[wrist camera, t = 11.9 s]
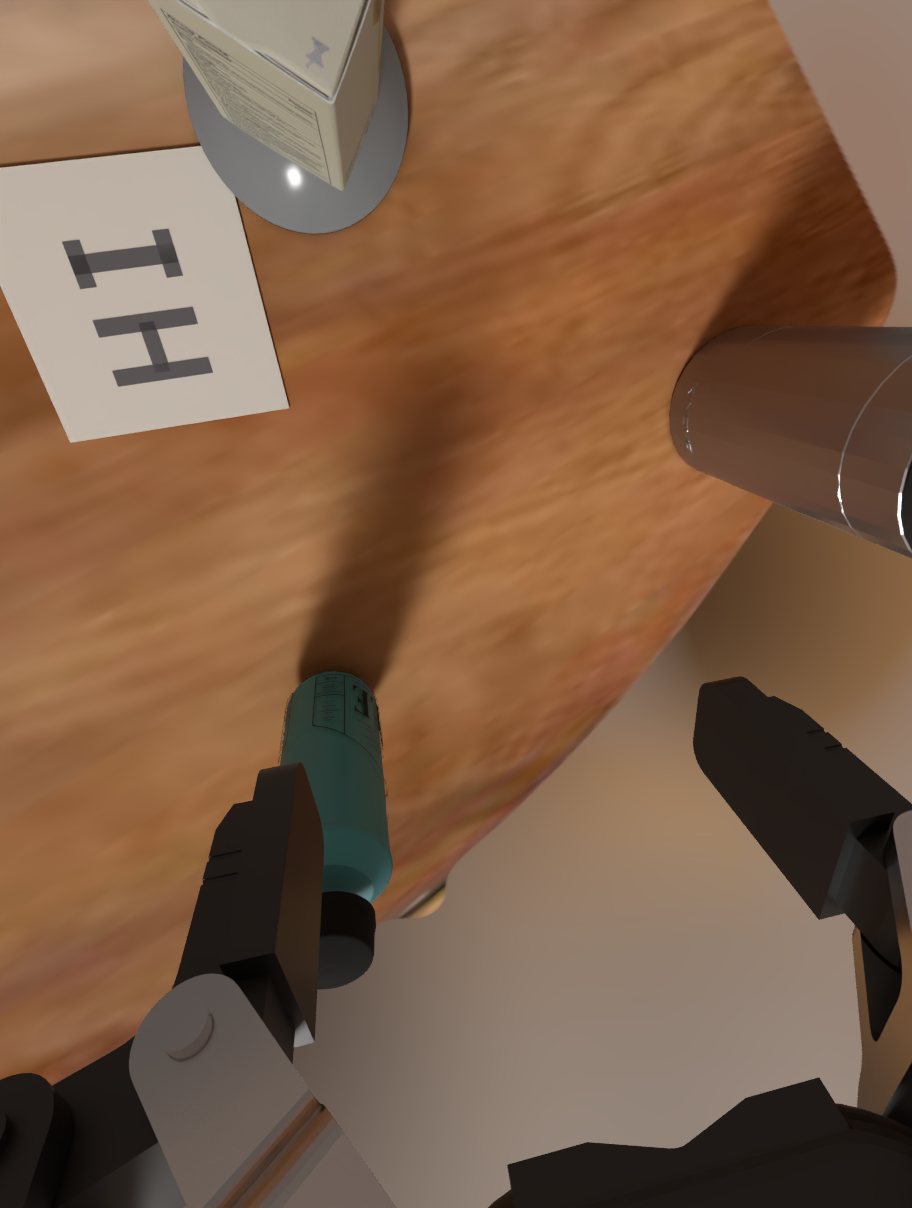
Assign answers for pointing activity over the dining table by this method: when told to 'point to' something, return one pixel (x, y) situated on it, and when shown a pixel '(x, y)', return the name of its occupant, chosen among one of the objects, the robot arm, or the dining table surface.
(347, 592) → the dining table surface
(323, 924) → the beverage bottle
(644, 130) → the dining table surface
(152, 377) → the card
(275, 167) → the slate coaster
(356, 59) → the skincare box
